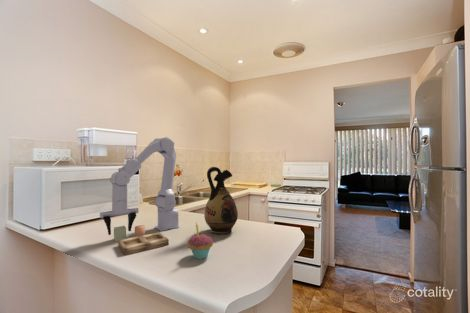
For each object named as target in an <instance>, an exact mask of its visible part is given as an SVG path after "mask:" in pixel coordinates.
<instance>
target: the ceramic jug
mask: <svg viewBox="0 0 470 313" xmlns="http://www.w3.org/2000/svg"><path fill="white" fill-rule="evenodd" d="M213 172H217V174H216V175H215V177H214V179H213V178H212V173H213ZM231 177H233V174H232V173H231V172H230V171H229V170H227V169H224V170H221V169H220V168H219V167H216V166H211V167H210V168H208V170H207V172H206V178H207V180H208V183H209V184H208V185H209V187H210V196H209V198H208V200H207V202H206V204H205V208H204V214H203V215H204V216H203V217H204V221H205V223H206V225H207V226H208V228H210V231H211V232H210V233H214V234H219V235H224V234H226V235H227V234H231V232H232V229H233V227H234V226H235V224H237V221H238V215H239V212H238V207H237V203H236V202H235V200H234V198H233V196H232V195H231V194H230V192H229V191H228V189H227V188H226V186H225V181H226V180H227V179H230V178H231ZM213 181H215V182H216V185H214V182H213Z"/></svg>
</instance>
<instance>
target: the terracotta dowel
mask: <svg viewBox="0 0 470 313" xmlns="http://www.w3.org/2000/svg"><path fill="white" fill-rule="evenodd" d="M142 235H146V226H145V225H142V224H141V225H135V226H134V237H137V236H142Z"/></svg>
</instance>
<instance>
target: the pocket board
mask: <svg viewBox="0 0 470 313" xmlns="http://www.w3.org/2000/svg"><path fill="white" fill-rule="evenodd" d="M169 240H170V239H169V238H168V237H166V236H165V235H164V234H163V233H161V231H159V232H158V231H157V232H154V233H148V234H145V235H142V236H137V237H135V236H133V237H128V238H127V237H126V239H122V240H118V241H117V244H118V248H119V249H120V251H121V253H122V254H123V256H127V255H131V254H134V253H135V254H136V253H140V252H143V251H148V250H152V248H153V249H156V248H160V247H164V246H165V245H166V246H168V245H169V242H170V241H169Z"/></svg>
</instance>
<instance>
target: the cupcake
mask: <svg viewBox="0 0 470 313" xmlns="http://www.w3.org/2000/svg"><path fill="white" fill-rule="evenodd" d="M195 227H196V228H195V230H196V235H194V236H192V237H190V239H188V242H187V246H188V248H189V249H190V250H191V252H192V255H193V258H195V259H198V260H202V259H206V258H207V257H208V256H209V252H210V249H211V248H212V247H213V246H214V245H213V244H214V242H213V238H212V237H211V236H209V235H207V234H205V233H204V234H200V233H199V224H198V222H195Z"/></svg>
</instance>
